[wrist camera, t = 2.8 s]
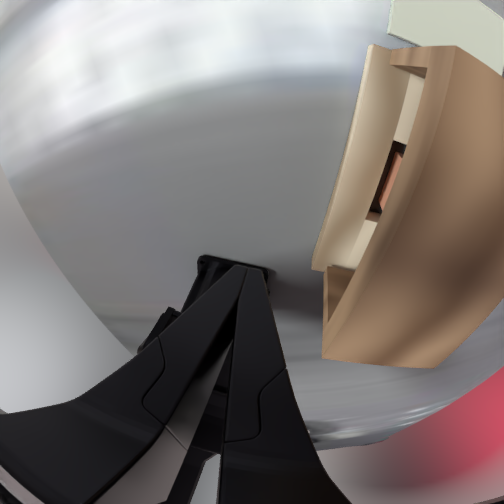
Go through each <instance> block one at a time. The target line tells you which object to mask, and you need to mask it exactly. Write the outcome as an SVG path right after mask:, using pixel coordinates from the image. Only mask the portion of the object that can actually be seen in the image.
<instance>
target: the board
mask: <svg viewBox="0 0 504 504" xmlns="http://www.w3.org/2000/svg"><path fill="white" fill-rule="evenodd" d="M391 54H392V50H389V49H387V48H384V47H381V46H378V45H375V44H372V45H369V46H368V50H367V55H366V60H365V66H364V70H363V75H362V80H361V85H360V89H359V94H358V98H357V102H356V107H355V111H354V115H353V119H352V123H351V127H350V131H349V135H348V139H347V143H346V147H345V150H344V154H343V158H342V161H341V165H340V169H339V172H338V176H337V179H336V183H335V186H334V189H333V193H332V196H331V200H330V203H329V206H328V209H327V213H326V216H325V219H324V222H323V225H322V228H321V231H320V235H319V238H318V241H317V244H316V247H315V250H314V253H313V256H312V270H317V271H322V272H325V270H326V268H327V266H329V267H333V268H338V269H343V270H347V271H352V272H355V271H356V269H357V267H358V265H359V263H360V260H361V258H362V256H363V254H364V252H365V250H366V248H367V246H368V243H369V241H370V239H371V237H372V234H373V232H374V230H375V228H376V225H377V223H378V221H379V218H380V216H381V214H379V213H376V212H372V211H369V208H370V206H371V203H372V200H373V198H374V195H375V192H376V189H377V187H378V184H379V181H380V178H381V175H382V173H383V170H384V167H385V164H386V161H387V158H388V155H389V151H390V148H391V145H392V142H393V140H395V141H398V142H401V143H403V144H406V145H407V143H408V140H409V137H410V133H411V130H412V127H413V123H414V120H415V117H416V113H417V109H418V106H419V102H420V98H421V94H422V90H423V86H424V82H425V79H423V78H421V77H419V76H416V75H414V74H412V73H409V72H407V71H404V70H402V69H399V68H397V67H394V66H392V65H389V64H390V59H391Z"/></svg>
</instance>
